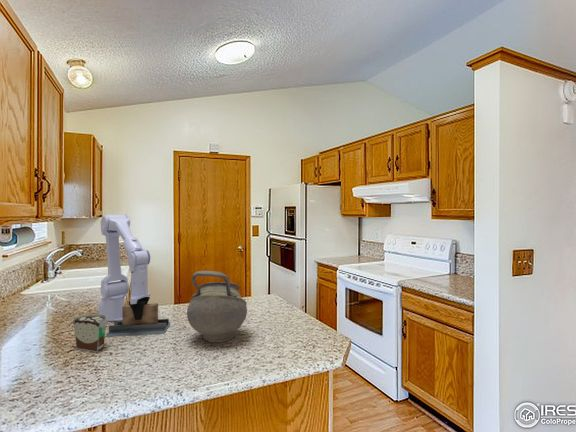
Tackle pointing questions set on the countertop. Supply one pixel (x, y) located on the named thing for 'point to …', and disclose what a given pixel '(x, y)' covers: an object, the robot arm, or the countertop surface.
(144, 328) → the track
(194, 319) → the pot
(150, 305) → the door panel
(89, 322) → the food container
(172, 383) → the countertop surface
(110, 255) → the robot arm
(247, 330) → the countertop surface
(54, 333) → the countertop surface
